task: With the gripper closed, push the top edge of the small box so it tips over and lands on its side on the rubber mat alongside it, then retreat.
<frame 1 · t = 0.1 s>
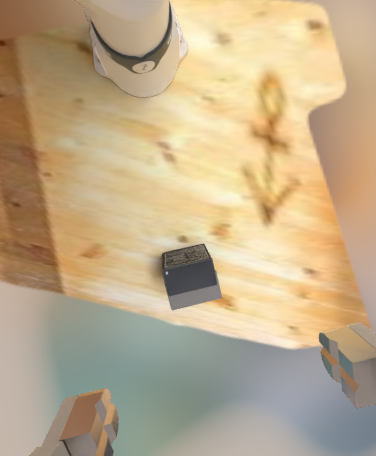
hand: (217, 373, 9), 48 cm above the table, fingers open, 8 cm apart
mat: (193, 290, 60), on the table
small box: (186, 259, 59), on the table
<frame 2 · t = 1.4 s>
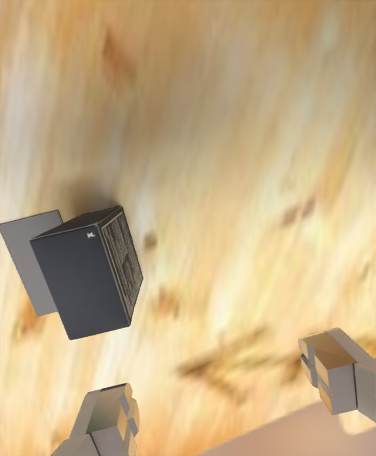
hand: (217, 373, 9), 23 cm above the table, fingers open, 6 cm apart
mat: (48, 265, 31), on the table
small box: (110, 248, 32), on the table
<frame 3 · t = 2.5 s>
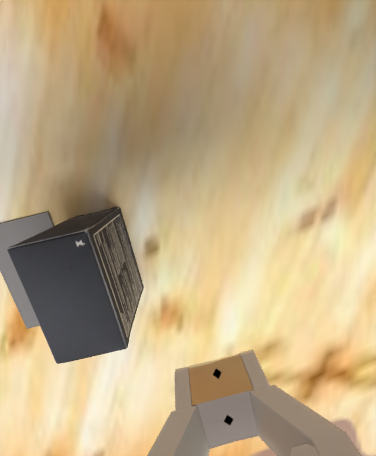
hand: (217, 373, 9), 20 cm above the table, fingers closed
mat: (38, 272, 28), on the table
small box: (107, 254, 29), on the table
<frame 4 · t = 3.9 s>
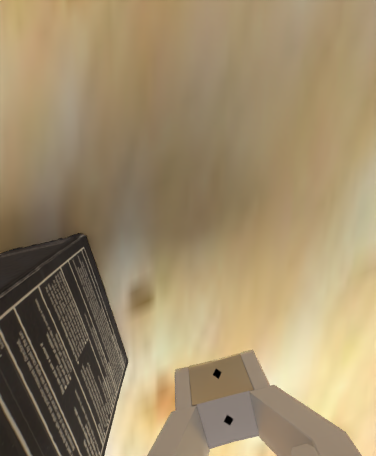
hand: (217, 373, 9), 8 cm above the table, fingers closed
small box: (66, 310, 17), on the table
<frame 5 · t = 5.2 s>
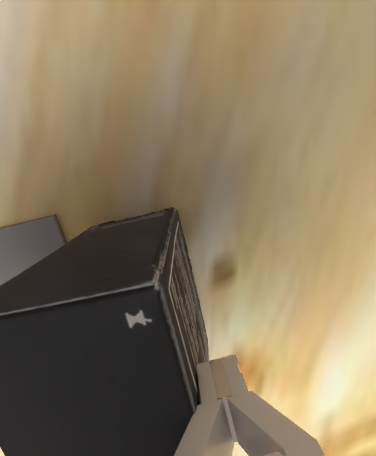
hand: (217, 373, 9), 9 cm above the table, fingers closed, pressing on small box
mat: (37, 315, 17), on the table
small box: (150, 285, 17), on the table, touching gripper
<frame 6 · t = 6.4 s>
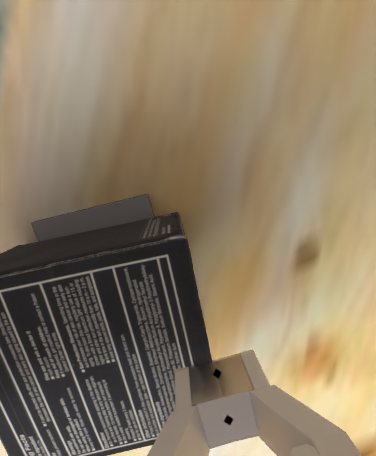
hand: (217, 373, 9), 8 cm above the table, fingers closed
mat: (120, 296, 17), on the table
small box: (204, 304, 14), point 3 cm above the table, touching mat
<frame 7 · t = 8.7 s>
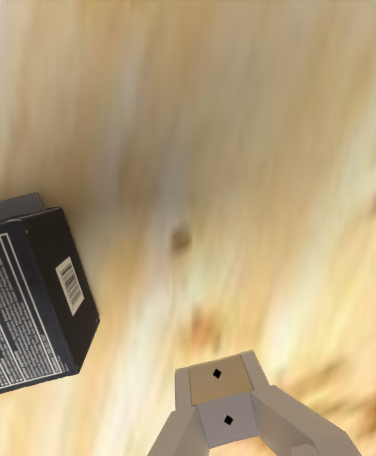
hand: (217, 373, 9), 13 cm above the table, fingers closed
mat: (22, 280, 20), on the table
small box: (74, 279, 17), point 3 cm above the table, touching mat
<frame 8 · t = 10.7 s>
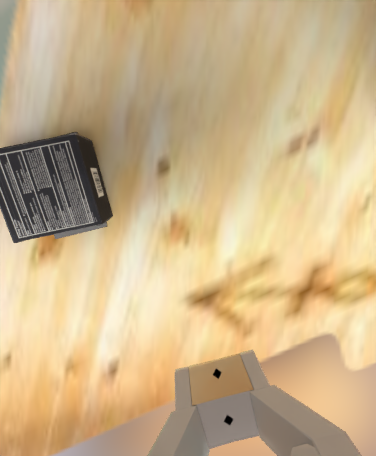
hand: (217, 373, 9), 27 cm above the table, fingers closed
small box: (99, 179, 30), point 3 cm above the table, touching mat
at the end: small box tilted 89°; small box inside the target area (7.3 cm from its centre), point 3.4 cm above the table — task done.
